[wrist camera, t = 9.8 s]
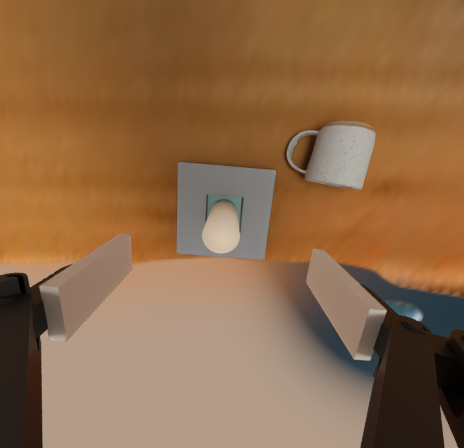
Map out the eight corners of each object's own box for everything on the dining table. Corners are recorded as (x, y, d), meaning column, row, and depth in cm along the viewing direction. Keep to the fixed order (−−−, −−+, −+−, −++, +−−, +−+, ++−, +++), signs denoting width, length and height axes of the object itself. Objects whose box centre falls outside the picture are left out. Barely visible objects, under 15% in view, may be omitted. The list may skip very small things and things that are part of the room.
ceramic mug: (359, 134, 33) (396, 125, 25) (343, 187, 35) (372, 193, 27) (291, 121, 32) (308, 109, 25) (279, 176, 34) (291, 179, 27)
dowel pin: (212, 197, 34) (202, 216, 22) (237, 199, 34) (241, 219, 22) (210, 222, 35) (201, 252, 23) (235, 224, 35) (238, 254, 23)
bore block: (183, 162, 34) (177, 162, 30) (271, 169, 34) (276, 170, 31) (181, 245, 37) (176, 253, 34) (261, 251, 38) (264, 259, 34)
